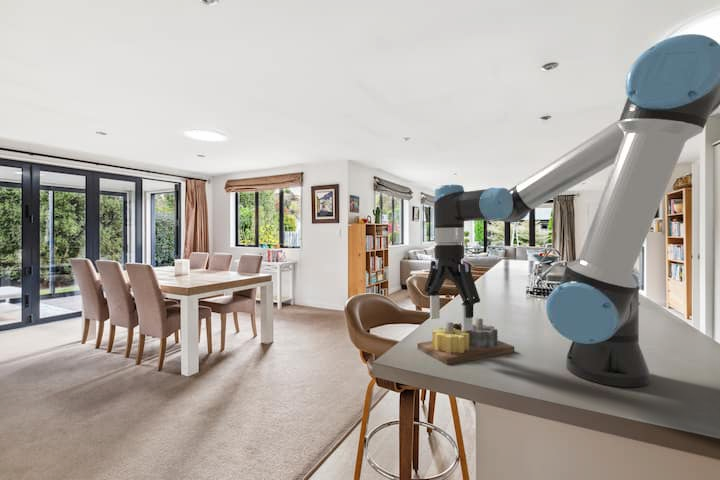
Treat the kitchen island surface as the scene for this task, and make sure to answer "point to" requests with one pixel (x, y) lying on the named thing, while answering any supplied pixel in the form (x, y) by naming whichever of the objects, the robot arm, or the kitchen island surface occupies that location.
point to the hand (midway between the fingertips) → (449, 324)
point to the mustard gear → (451, 340)
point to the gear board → (470, 345)
